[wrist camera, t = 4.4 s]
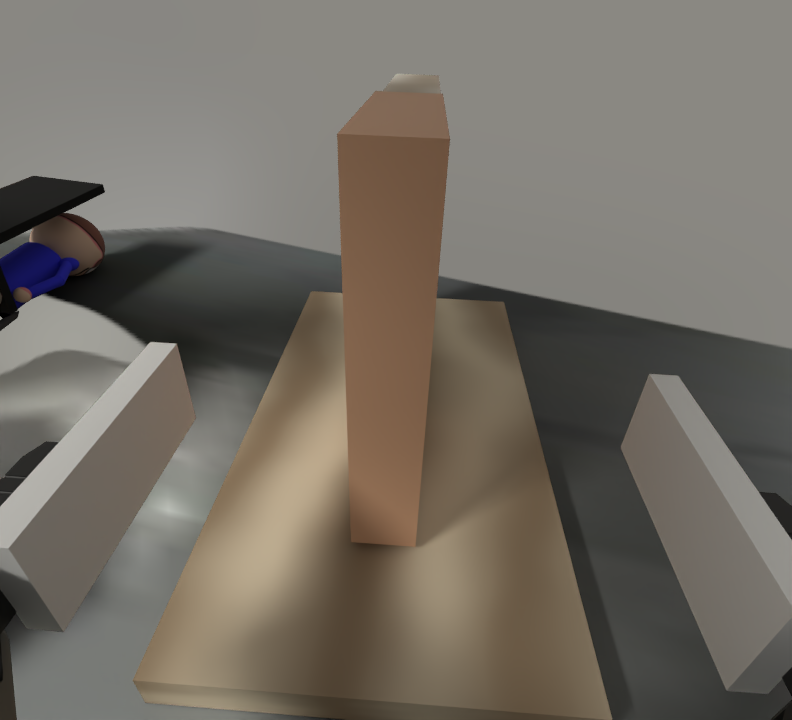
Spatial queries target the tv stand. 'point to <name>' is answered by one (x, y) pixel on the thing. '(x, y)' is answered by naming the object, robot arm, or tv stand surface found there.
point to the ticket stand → (384, 552)
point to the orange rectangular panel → (390, 301)
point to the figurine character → (45, 239)
